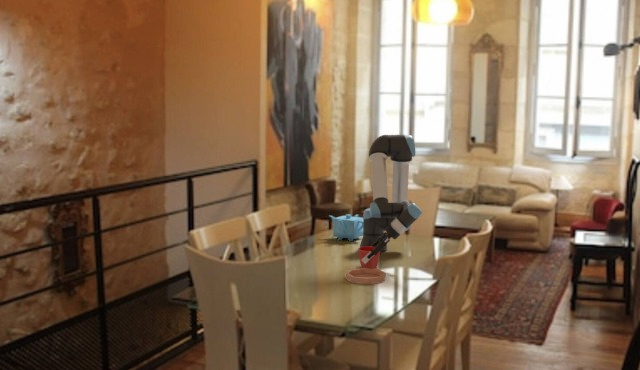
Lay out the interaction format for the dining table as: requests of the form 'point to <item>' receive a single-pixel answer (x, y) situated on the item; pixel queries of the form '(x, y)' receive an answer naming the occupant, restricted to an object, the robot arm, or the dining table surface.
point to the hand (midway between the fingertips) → (363, 259)
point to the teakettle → (347, 227)
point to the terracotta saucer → (365, 276)
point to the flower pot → (373, 261)
